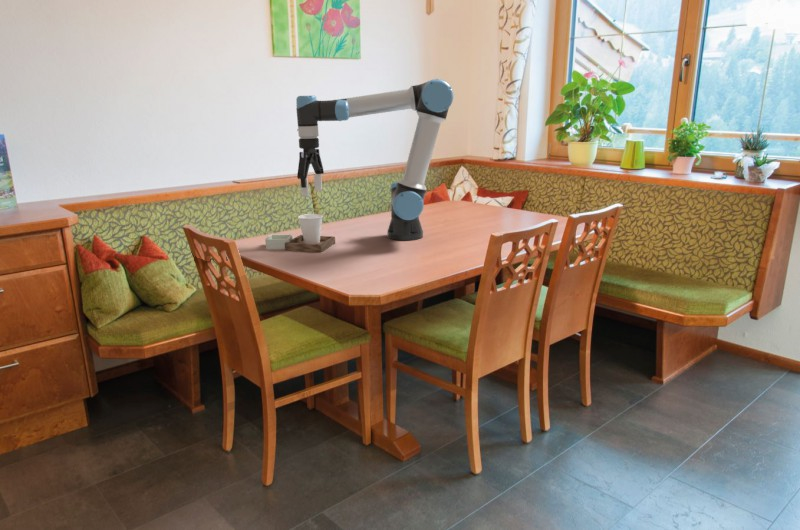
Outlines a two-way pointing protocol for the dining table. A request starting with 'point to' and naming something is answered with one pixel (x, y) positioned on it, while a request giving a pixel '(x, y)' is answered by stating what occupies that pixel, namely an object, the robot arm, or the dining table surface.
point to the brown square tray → (299, 244)
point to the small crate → (277, 241)
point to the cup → (311, 227)
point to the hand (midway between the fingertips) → (312, 193)
